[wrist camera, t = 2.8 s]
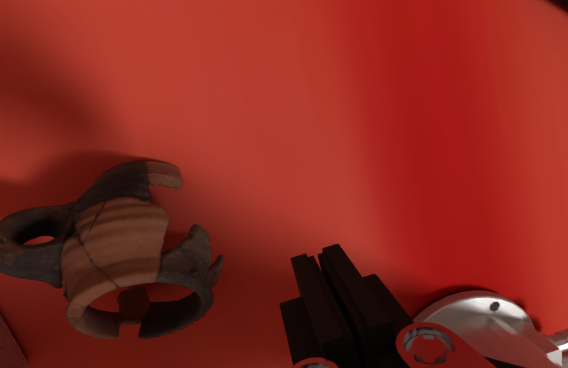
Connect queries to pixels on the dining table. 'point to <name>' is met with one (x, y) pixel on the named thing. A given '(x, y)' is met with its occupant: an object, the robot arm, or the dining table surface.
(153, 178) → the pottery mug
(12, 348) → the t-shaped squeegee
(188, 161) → the dining table surface
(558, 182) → the dining table surface
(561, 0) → the diary
